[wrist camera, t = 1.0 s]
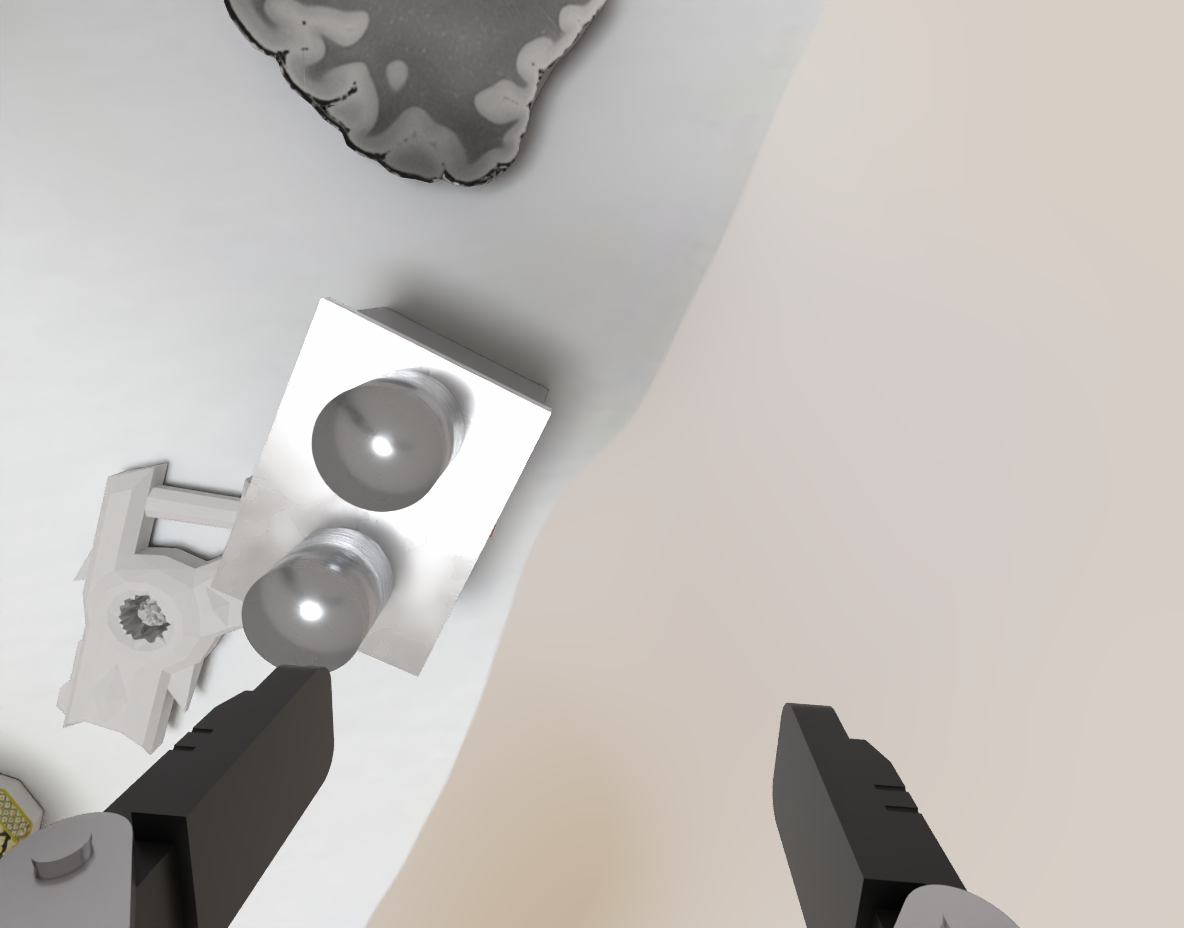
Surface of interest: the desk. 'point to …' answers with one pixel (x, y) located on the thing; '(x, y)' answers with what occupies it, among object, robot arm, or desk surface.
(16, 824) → the ceramic cup
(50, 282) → the desk surface
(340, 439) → the cylinder
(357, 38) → the brain slice
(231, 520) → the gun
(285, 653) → the cylinder
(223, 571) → the pan
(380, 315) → the scale
